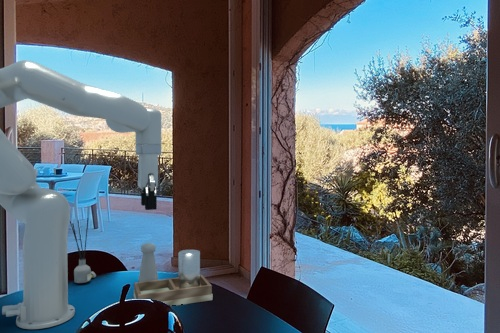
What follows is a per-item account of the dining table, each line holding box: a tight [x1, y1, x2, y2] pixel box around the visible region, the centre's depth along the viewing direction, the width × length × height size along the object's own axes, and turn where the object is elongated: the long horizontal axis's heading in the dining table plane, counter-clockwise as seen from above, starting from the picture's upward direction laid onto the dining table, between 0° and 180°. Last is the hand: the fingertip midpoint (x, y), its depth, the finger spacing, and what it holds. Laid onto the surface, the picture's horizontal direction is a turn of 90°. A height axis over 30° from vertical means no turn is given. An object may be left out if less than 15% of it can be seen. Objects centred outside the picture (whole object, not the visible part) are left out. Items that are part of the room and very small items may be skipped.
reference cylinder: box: [177, 249, 201, 289], centre depth 106 cm, size 6×6×11 cm
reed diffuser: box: [69, 218, 97, 284], centre depth 117 cm, size 10×7×20 cm
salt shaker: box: [138, 242, 159, 282], centre depth 113 cm, size 6×6×13 cm
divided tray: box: [132, 273, 214, 307], centre depth 104 cm, size 20×11×4 cm, turn 113°
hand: (148, 207), depth 112 cm, fingers open, 9 cm apart
